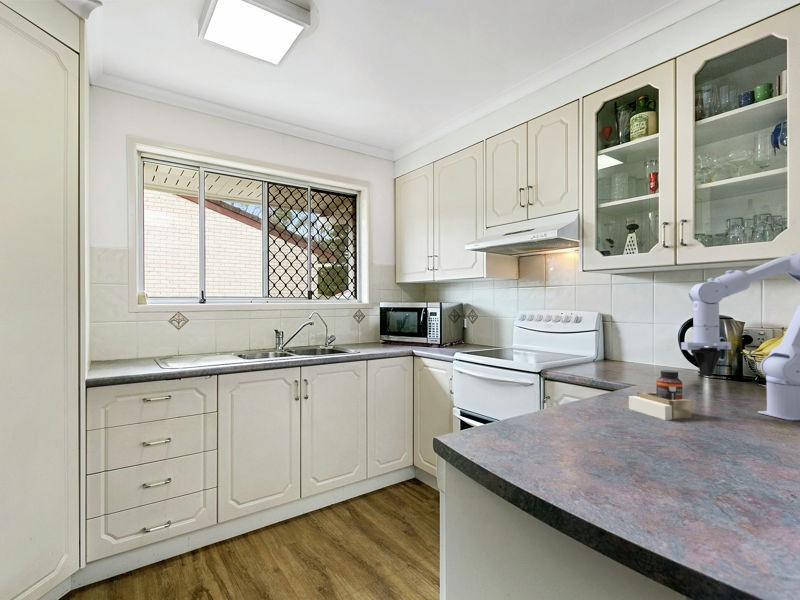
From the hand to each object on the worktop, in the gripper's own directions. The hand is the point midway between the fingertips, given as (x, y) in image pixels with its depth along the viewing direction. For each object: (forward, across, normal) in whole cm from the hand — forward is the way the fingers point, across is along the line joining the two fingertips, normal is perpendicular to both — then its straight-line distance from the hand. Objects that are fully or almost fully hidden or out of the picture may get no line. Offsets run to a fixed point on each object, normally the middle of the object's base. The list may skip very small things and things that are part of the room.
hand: (706, 376), depth 112 cm
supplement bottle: (+10, -11, +2) cm, 15 cm away
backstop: (+10, -17, +1) cm, 20 cm away
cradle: (+10, -13, +1) cm, 16 cm away
